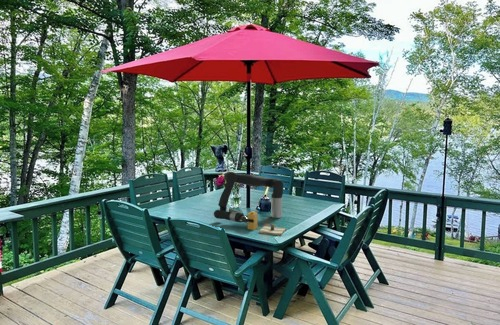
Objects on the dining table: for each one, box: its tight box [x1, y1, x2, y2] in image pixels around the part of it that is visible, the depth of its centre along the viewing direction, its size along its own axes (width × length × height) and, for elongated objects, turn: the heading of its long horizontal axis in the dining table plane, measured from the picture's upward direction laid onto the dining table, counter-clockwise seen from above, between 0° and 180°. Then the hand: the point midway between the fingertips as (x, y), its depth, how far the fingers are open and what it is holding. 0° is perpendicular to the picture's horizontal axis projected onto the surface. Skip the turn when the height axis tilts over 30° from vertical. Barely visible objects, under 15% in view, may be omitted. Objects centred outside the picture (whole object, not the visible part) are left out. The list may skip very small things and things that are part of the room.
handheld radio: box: [228, 207, 243, 213], centre depth 288 cm, size 7×3×25 cm
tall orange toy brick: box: [247, 210, 259, 231], centre depth 255 cm, size 6×6×13 cm
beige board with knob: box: [258, 223, 287, 237], centre depth 248 cm, size 14×17×6 cm
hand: (255, 220), depth 253 cm, fingers closed on tall orange toy brick, 5 cm apart
